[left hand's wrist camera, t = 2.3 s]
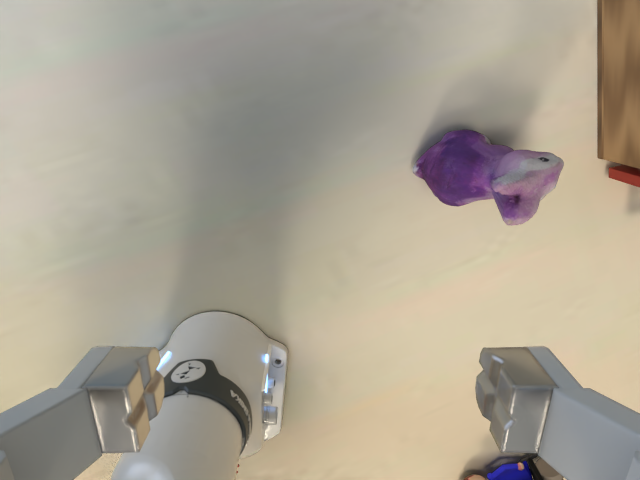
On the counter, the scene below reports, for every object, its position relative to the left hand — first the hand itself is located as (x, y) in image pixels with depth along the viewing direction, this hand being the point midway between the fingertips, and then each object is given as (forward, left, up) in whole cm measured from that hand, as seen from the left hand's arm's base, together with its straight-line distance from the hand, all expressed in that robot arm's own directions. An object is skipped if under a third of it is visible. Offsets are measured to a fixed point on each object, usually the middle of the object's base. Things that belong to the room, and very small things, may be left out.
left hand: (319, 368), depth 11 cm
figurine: (-3, -17, -41) cm, 44 cm away
